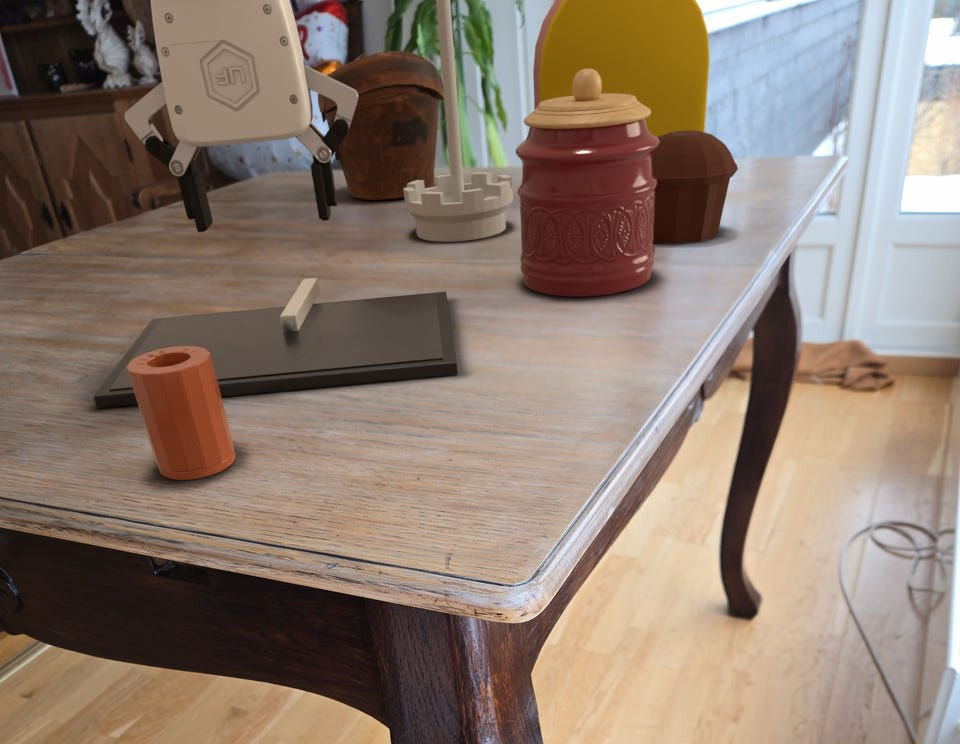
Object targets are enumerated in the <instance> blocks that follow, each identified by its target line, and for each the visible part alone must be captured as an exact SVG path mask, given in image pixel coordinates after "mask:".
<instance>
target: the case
mask: <svg viewBox="0 0 960 744" xmlns="http://www.w3.org/2000/svg"><path fill="white" fill-rule="evenodd" d="M325 75H326V76H328V77H330V78H332V79H335V80H337V81H339V82H341V83H343V84H345V85H347V86H349V87H351V88H353V89H355V90H356V91H357V92H358V95H359V98H358V102H357V105H356V109H355V112H354V115H353V118H352V122H351V125H350V128H349V131H348V134H347V135H346V137H345V138H344V140H343V141H342V143H341V144H340V146H339V147H338V149H337V150H336V152H335V153H334V159H335V160H336V161H338V162H339V165H340V167H341V170H342V172H343V176H344V179H345V182H346V186H347V190H348V192H349V194H350V195H351V197H353V198H355V199H359V200H368V201H373V200H375V201H376V200H377V201H380V200H381V201H382V200H394V199H401V198H404V190H403V188H407V184H408V183H410V182H413V181H416V180H424V186H425V188H430V187H434V186H435V182H434V176H435V164H436V151H437V139H438V128H439V114H440V113H439V112H440V101H442V102H444V91H443V79H442V76H441V75H440V73H439V71H438V69H437V67H436V66H435V64H433V63H432V62H431V61H429V59H426V58H425V57H423V56H421V55H419V54H416V53H414V52H413V53H412V52H409V51H401V50H389V51H383V52H382V51H381V52H376V53H372V54H369V55H367V54H366V53H362V54H360V55H359V56H358V57H356V58H355V59H354V61H351V62H349V63H345V64H344V65H342V66H340V67H337V68H335V69H334V70H333V71H331V72H329V73H328V74H325ZM317 105H318V109H319V112H320V114H321V119H322V123H323V124H324V123H325V122H326V124H327V127H328V130H329V129H330V127H331V126H332V124H333V123H334V120H335V116H336V113H337V104H336V103H335V102H334V101H333V100H331V99H329V98H327V97H325V96H322V95H320V94H318V93H317Z"/></svg>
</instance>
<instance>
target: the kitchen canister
mask: <svg viewBox="0 0 960 744" xmlns="http://www.w3.org/2000/svg"><path fill="white" fill-rule="evenodd" d="M601 89H602V82H601V78H600V75H599V74H598V72H597V71H596V70H594V69H582V70H580V71H579V72H578V73H577V74H576V75H575V77H574V79H573V83H572V92H573V96H567V97H560V98H554V99H549V100H545V101H542V102H540V103H539V105H538V107H537V108H536V109H535V110H533V111H532V112H530V113H529V114H528V115H526V117H524V119H523V124H524V125H525V126H527V127H529V129H528V131H527V132H528V133H527V135H526V138H525V139H524V140H523V141H522V142H521V143H519V145H517V147H516V148H515V155H516V156H517V157H518V158H519V160H520V161H521V165H522V166H521V167H522V169H521V184H520V185H519V186H518V188H517V195H518V197H519V216H520V240H521V254H520V257H519V261H520V271H521V274H522V277H523V283H524V285H525V286H526V287H527V288H528V289H530V290H532V291H534V292H537V293H540V294H545V295H551V296H559V297H594V296H603V295H612V294H616V293H622V292H625V291H630V290H632V289H635V288H638V287H640V286H642V285H644V284H646V283H647V282H648V281H649V280H650V279H651V277H652V272H653V271H652V270H653V267H654V264H655V254H656V250H655V247H654V242H653V236H654V212H655V190H656V186H657V183H658V182H657V179H656V178H655V177H654V176H653V152H654V151H655V149H656V148H657V147H658V145H659V139H658V137H657V136H655V135H654V134H653V133H651V132H650V131H649V130H648V128H647V125H646V122H645V118H647V117H649V116H650V114H651V110H650V109H649V108H648V107H646V106H644V105H643V104H641V103H640V102H639V101H637V99H636V97H635V96H633V95H629V94H600V93H601Z"/></svg>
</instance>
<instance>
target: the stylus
mask: <svg viewBox="0 0 960 744" xmlns="http://www.w3.org/2000/svg"><path fill="white" fill-rule="evenodd" d="M318 279H319V278H318V277H313V278H311V277H310V278H303V279H302V281H301V282H300V284H299V285H298V287H297V289H296V291H295V292H294V294H293V295H292V296H291V298H290V300H289V302H288V303H287V305H286V306H285V307H286V308H285V309H284V311H283V312H282V314H281V316H280V319H281V324H282V329H283V332H292V331H299V329H300V327H301V325H302V324H303V322H304V320H305V318H306V316H307V315H308V313H309V311H310V309H311V307H312V305H313V304H315V302H316V300H317V298H318V297H319V294H320V293H321V291H320V285H319V281H318Z"/></svg>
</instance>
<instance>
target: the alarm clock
mask: <svg viewBox="0 0 960 744" xmlns="http://www.w3.org/2000/svg"><path fill="white" fill-rule="evenodd" d="M709 42H710V39H709V32H708V27H707V26H706V22H705V18H704V15H703V12H702V9H701V7H700V5H699V4H698V2H697V0H554V1H553V3H552V4H551V6H550V8H549V10H548V12H547V14H546V15H545V17H544V19H543V20H542V23H541V27H540V30H539V33H538V37H537V39H536V44H535V46H534V59H533V69H532V73H533V100H534V101H533V104H534V105H533V106H534V107H533V109H534V110H535V109H536V108H537V107H538V105H539V103H540V102H542V101H545V100H549V99H554V98H560V97H567V96H573V92H572V83H573V79H574V77H575V75H576V74H577V73H578V72H579V71H580V70H582V69H594V70H596V71H597V72H598V74H599V75H600V78H601V82H602V89H601V93H600V94H629V95H633V96H635V97H636V99H637V101H639V102H640V103H641V104H643V105H644V106H646V107H648V108H649V109H650V110H651V114H650V116H649V117H647V118H645V122H646V125H647V128H648V130H649V131H650V132H651V133H653V134H654V135H655V136H657V137H659V136H661V135H664V134H667V133H670V132H675V131H688V130H693V131H702V132H705V131H706V117H707V102H708V87H709V73H710V71H709V70H710V43H709ZM534 110H533V111H534ZM705 133H706V132H705Z"/></svg>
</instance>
